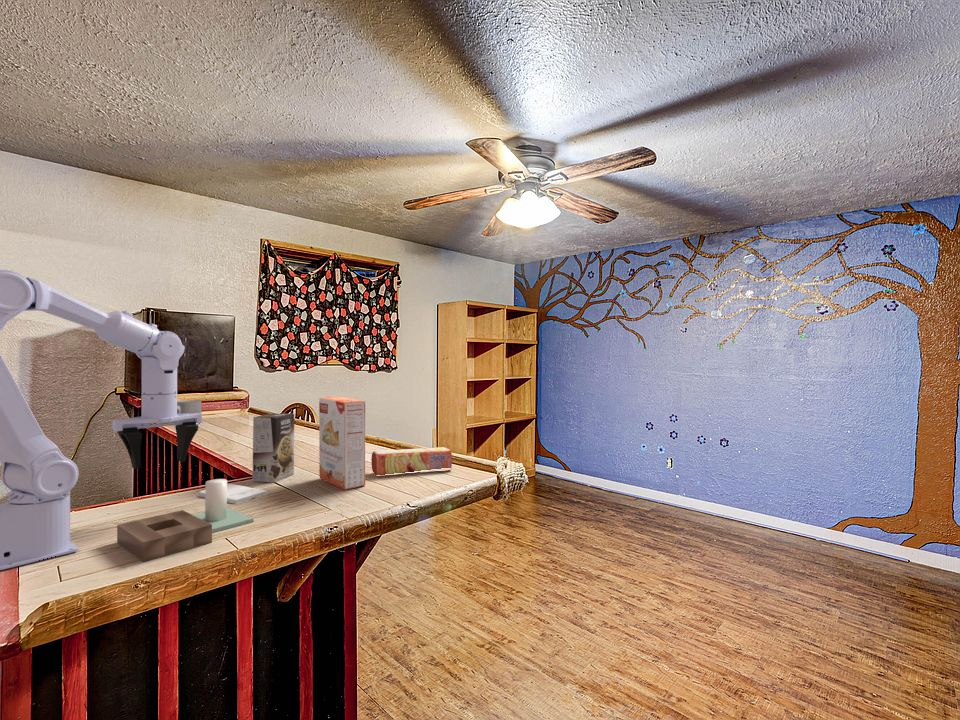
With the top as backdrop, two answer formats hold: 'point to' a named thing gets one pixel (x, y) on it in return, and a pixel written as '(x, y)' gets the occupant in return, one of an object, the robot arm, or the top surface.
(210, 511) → the plug
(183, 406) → the coffee mug
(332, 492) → the top surface
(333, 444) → the cracker box
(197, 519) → the brown socket block
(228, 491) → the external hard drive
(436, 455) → the snack package
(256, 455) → the coffee box
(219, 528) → the mat
